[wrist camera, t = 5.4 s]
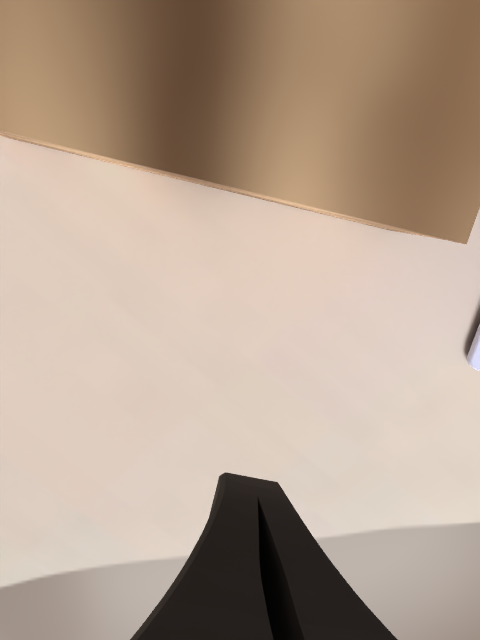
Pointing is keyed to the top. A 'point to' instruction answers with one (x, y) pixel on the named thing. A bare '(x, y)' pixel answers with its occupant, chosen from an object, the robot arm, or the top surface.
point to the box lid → (263, 97)
